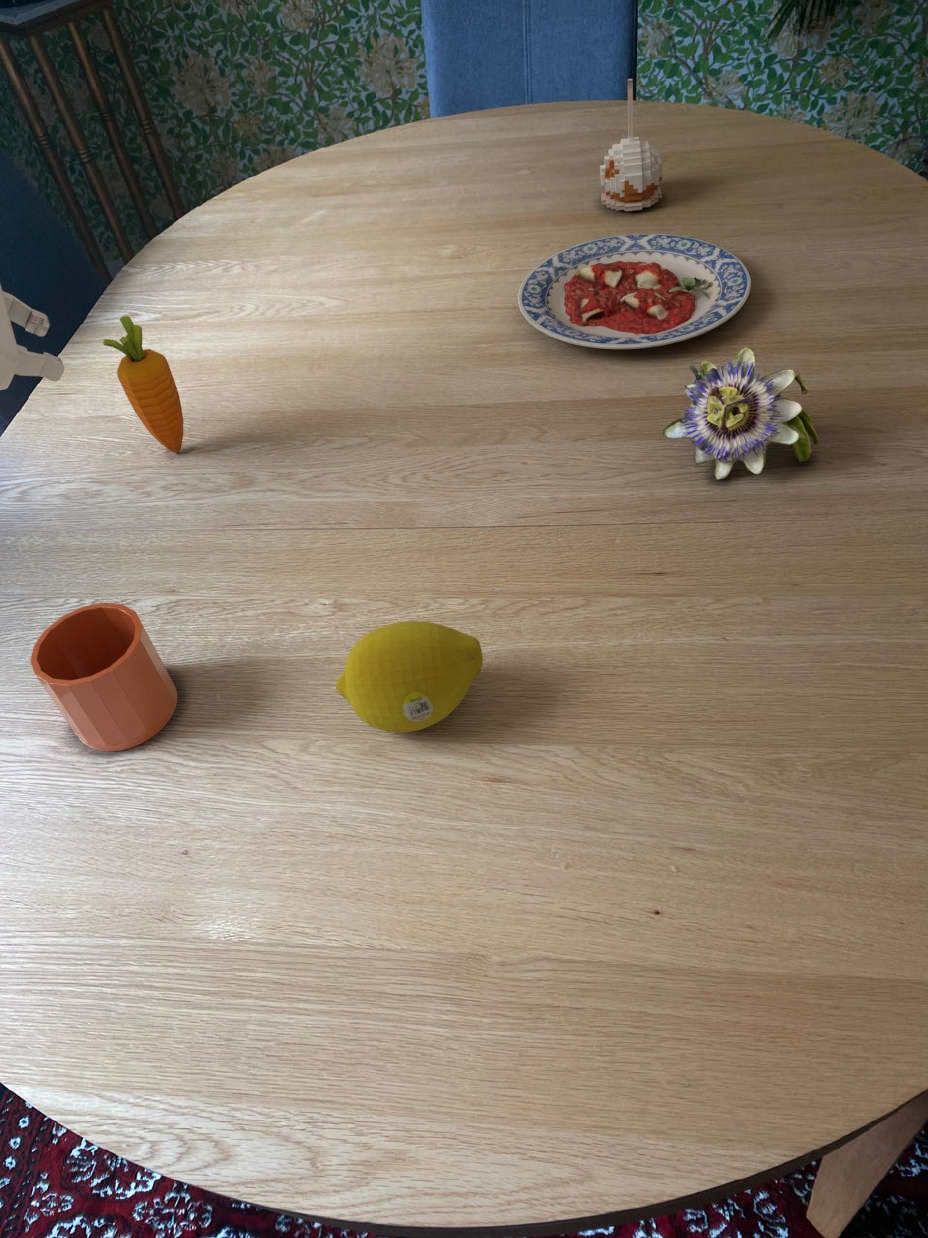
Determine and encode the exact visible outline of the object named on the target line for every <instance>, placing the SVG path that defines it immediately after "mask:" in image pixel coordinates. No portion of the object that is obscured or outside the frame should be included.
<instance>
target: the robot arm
mask: <svg viewBox="0 0 928 1238" xmlns="http://www.w3.org/2000/svg"><path fill="white" fill-rule="evenodd" d="M12 322H13V323H15V324H17V325H19V326H21V327H23V328H24V329H25V332H27V333H31V334H34V335H36V336H37V337H45V336H46V334H47V333H48V330H49V328H50V326H51V323H50V320H49V316H48V315H47V314H46V313H43V312H41V311H39V310H36V309H33V308H32V307H30V306H29V305H27V304H26V303H25V302H23V301H21V299H19V298H17V297H16V296H14V295H13V294H11V293H9V292H6V291H4V290H3V288H2V284H1V283H0V391H3V390H7V389H8V388H9V386H10V385H11V383H12V381H13V378H14V376H15V375H17V376H23V377H24V376H25V377H41V378H44V379H47V380H49V381H52V382H58V381H60V380H61V377H63V374H64V372H65V366H64V363H63V360H62V358H61V357H58V356H55V355H54V354H51V353H50V352H46V351H44V352H43V353H37V352H33V351H29V350H28V348H27V347H25V346H22V345H19V344H17V340H16V336H15V332H14V328H13V325H12Z"/></svg>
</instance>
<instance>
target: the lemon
mask: <svg viewBox="0 0 928 1238" xmlns="http://www.w3.org/2000/svg"><path fill="white" fill-rule="evenodd" d="M483 659H484V658H483V651H482V648H481V644H480V641H479V640H478V639H477V638H476V637H475V636H473V635H469V634H467V633H463V632H461V631H458V630H456V629H453V628H452V627H449V626H446V625H443V624H441V623H440V624H439V623H435V622H432V621H420V620H419V621H417V620H415V621H401V622H395V623H390V624H387V625H384V626H383V625H382V626H380V627H378V628H375V629H373V630H371V631H370V632H368V633H366V634H365V635H363V636H362V637H361V638H360V639H359V640H358V641H357V642H355V643H354V645H353V646H352V648H351V649H350V651H349V652H348V656H347V658H346V660H345V666H344V671H343V672H342V673H341V675H340V676H339V677H338V678H337V680H336V683H335V688H336V690H337V692H338V695H340V696H341V697H342V698H344V699H345V700H346V701H347V702H348V703H349V704H350V705H351V707H352V710H353V711H354V713H355V715H356V716H358V718H359V719H360V720H361V721H362V722H364V723H365V724H367V725H369V726H370V727H372V728H374V729H377V730H380V731H384V732H389V733H396V734H401V733H413V732H417V731H420V730H424V729H427V728H429V727H431V726H433V725H435V724H438V723H439V722H441V721H443V719H445V718H447V717H448V716H450V714H451V713H452V712H454V711H455V710H456V709H457V707H458V706H459V705H460V704H461V703H462V702H463V700H464V698H465V697H466V695H467V694H468V691H469V689H470V688H471V685H472V684H473V682H474V681H475V679H476V678H477V677H478V675H479V674H480V673H481V671H482V668H483V665H484V663H483V661H484V660H483Z"/></svg>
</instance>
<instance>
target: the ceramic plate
mask: <svg viewBox="0 0 928 1238" xmlns="http://www.w3.org/2000/svg"><path fill="white" fill-rule="evenodd" d="M751 283H752V280H751V275H750V273H749V271H748V268H747V267H746V266H745V264H744V263H743V261H742V260H740V258H738V257H736V256H735V255H734V254H733V253H731V252H730V251H728V250H727V249H725V248H724V247H721V246H718V245H717V244H713V243H711V242H708V241H705V240H702V239H698V238H694V237H689V236H683V235H675V234H668V233H632V234H621V235H620V234H619V235H614V236H606V237H602V238H598V239H594V240H589V241H585V242H581V243H579V244H576V245H574V246H571V247H568V248H566V249H563V250H561V251H558V252H556V253H555V254H552V255H551V256H549V257H547V258H546V259H545V260H543V261H542V262H540V263H539V264H537V265H536V266H535V267H534V268H533V269H531V270H530V271H529V273H528V274H527V275H526V276H525V278H524V279H523V281H522V282H521V284H520V286H519V289H518V293H517V304H518V307H519V310H520V313H521V314H522V316H523V318H524V319H525V320H526V321H527V322H528V323H529V324H530V325H531V326H533V327H534V328H535V329H536V330H538V331H539V332H541V333H542V334H545V335H546V336H549V337H551V338H553V339H555V340H558V341H560V342H564V343H566V344H567V343H568V344H572V345H576V346H579V347H586V348H594V349H606V350H635V349H636V350H639V349H647V348H653V347H655V348H656V347H661V346H666V345H671V344H675V343H679V342H682V341H686V340H687V341H688V340H689V339H692V338H695V337H698V336H700V335H703V334H705V333H708V332H709V331H712V330H714V329H715V328H717V327H719V326H721V325H722V324H724V323H726V322H727V321H728V320H730V319H731V318H732V317H734V316H735V315H736V314H737V313H738V312H739V311H740V310H741V308H742V307H743V306H744V305H745V303H746V302H747V299H748V298H749V295H750V292H751Z"/></svg>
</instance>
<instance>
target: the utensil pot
mask: <svg viewBox="0 0 928 1238" xmlns="http://www.w3.org/2000/svg"><path fill="white" fill-rule="evenodd" d="M30 656H31V657H30V665H31V667H32V671H33V673H34V676H35V677H36V678H37V680H38V681H39V683H40V684H41V686H42V687H43V689H44V690H45V691H46V693H47V695H48V696H49V698H50V699H51V701H52V702H53V703H54V705H55V706H56V708H57V709H58V711H59V712H60V713H61V715H62V717H63V719H64V720H65V721H66V723H67V724H68V725H69V727H70V728H71V730H72V731H73V733H74V735H75V736H76V737H78V739H79V740H80V742H81V743H83V744H84V746H87V747H89V748H90V749H92V750H95V751H99V752H107V753H109V752H121V751H124V750H125V751H126V750H128V749H132V748H135V747H137V746H139V745H141V744H143V743H145V742H147V741H149V740H151V739H152V738H153V737H154V736H156V735H157V734H158V733H160V732H161V731H162V730H163V729H164V728H165V727H166V725H168V723H169V721H170V720H171V718H172V717H173V715H174V713H175V711H176V707H177V704H178V690H177V688H176V685H175V683H174V682H173V680H172V678H171V676H170V674H169V672H168V670H167V668H166V667H165V664H164V663H163V661H162V659H161V656H160V654H159V653H158V651H157V649H156V647H155V646H154V644H153V642H152V640H151V637H150V636H149V635H148V632H147V631H146V629H145V626H144V624H143V622H142V621H141V619H140V617H139V615H138V613H137V611H135V610H133V609H132V608H130V607H128V606H126V605H124V604H122V603H114V602H113V603H112V602H100V603H94V604H89V605H84V606H81V607H78V608H76V609H74V610H73V611H71V612H68V613H66V614H64V615H62V616H61V617H59V618H58V619H57V620H56V621H54V622H53V623H52V624H50V625H49V626H48V627H46V628H45V629H44V631H43V632H42V633H41V634H40V636H39V637H38V638H37V640H36V642H35V643H34V644H33V648H32V652H31V655H30Z"/></svg>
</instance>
